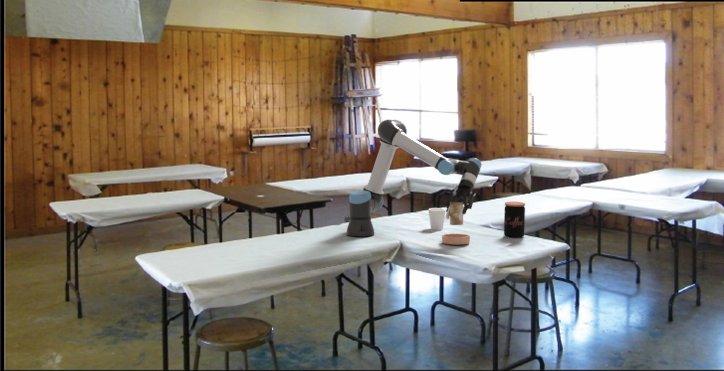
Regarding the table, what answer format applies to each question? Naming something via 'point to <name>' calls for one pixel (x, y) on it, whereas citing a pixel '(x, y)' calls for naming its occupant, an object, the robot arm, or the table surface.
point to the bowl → (455, 239)
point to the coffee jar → (514, 219)
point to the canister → (455, 213)
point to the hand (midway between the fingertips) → (453, 218)
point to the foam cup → (437, 218)
